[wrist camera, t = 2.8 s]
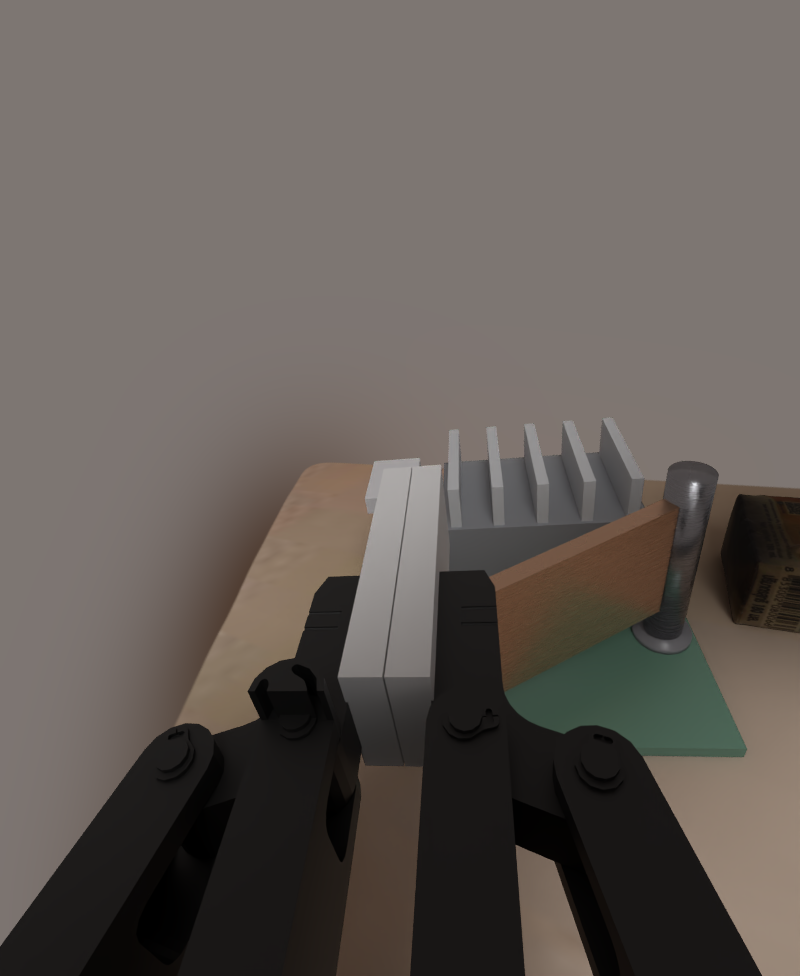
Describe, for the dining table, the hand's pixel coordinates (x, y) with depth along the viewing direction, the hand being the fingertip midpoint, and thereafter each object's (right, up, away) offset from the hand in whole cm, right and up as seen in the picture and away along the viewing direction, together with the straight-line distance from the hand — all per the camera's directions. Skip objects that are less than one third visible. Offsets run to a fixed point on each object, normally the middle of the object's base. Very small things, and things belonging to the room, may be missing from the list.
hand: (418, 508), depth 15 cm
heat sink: (+9, -9, +23) cm, 27 cm away
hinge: (+10, -11, +18) cm, 23 cm away
